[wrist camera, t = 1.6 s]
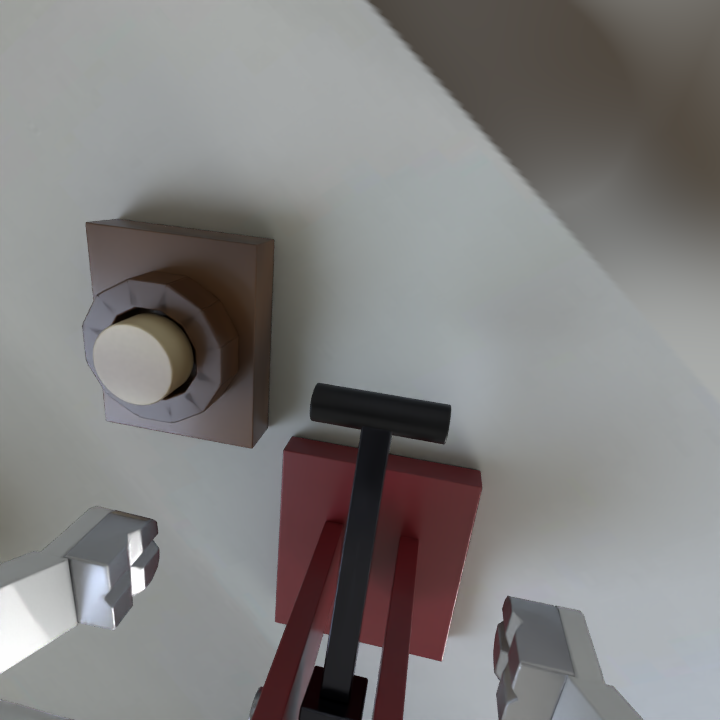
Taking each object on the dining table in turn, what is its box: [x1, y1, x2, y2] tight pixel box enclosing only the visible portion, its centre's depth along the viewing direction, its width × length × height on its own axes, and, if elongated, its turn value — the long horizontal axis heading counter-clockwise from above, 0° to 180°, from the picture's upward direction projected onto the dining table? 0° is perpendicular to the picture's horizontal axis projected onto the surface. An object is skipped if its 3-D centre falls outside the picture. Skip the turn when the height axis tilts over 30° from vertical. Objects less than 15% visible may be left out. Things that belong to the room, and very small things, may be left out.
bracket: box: [249, 436, 482, 720], centre depth 22 cm, size 12×10×12 cm
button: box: [93, 313, 194, 405], centre depth 20 cm, size 4×4×2 cm
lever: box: [298, 383, 451, 720], centre depth 18 cm, size 14×5×2 cm, turn 174°
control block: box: [82, 219, 274, 449], centre depth 23 cm, size 10×8×4 cm
